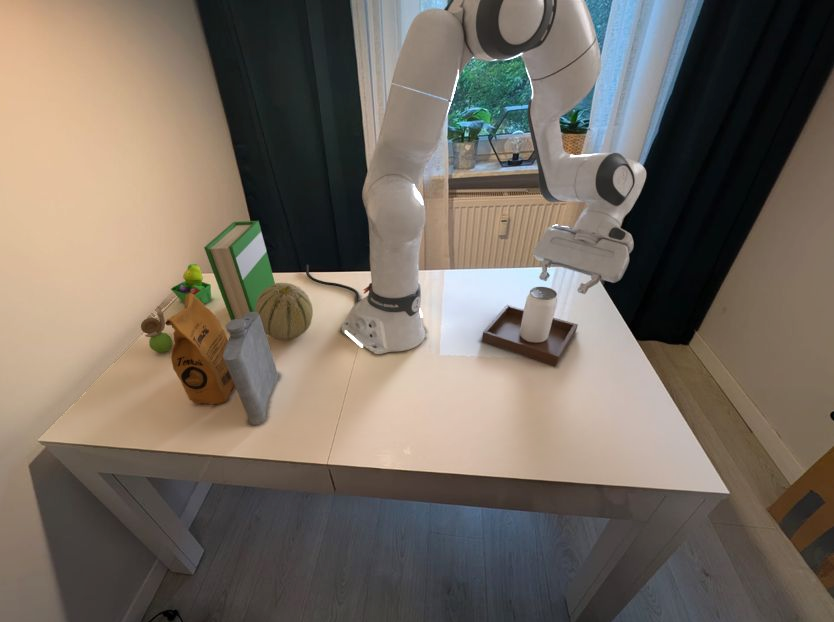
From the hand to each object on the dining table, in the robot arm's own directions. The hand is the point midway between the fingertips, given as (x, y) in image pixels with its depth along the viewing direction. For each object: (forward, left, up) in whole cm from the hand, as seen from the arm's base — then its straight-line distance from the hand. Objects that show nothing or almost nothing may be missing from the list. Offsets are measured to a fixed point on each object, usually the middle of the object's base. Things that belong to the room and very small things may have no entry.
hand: (561, 285), depth 89 cm
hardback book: (-74, -36, -11) cm, 83 cm away
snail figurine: (-80, -62, -11) cm, 102 cm away
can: (-2, -8, -11) cm, 13 cm away
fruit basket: (-97, -42, -11) cm, 106 cm away
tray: (-3, -8, -11) cm, 14 cm away
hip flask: (-43, -59, -11) cm, 74 cm away
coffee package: (-55, -63, -11) cm, 84 cm away
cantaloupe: (-56, -39, -11) cm, 69 cm away
